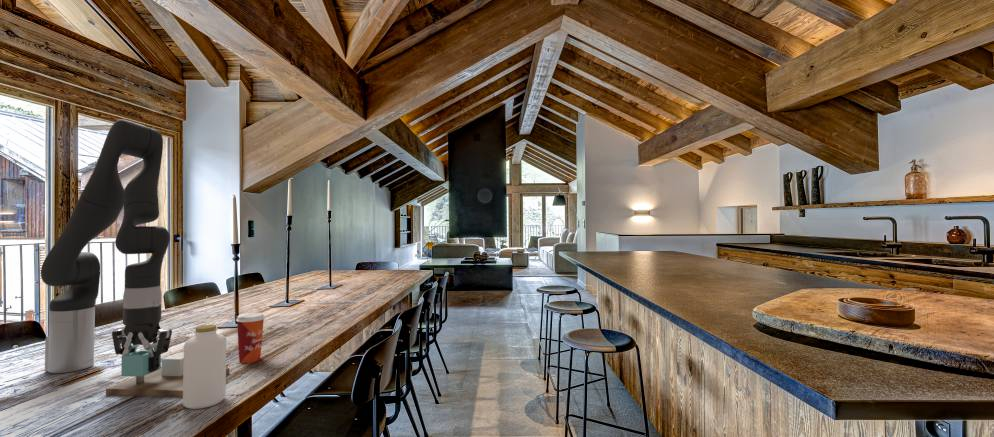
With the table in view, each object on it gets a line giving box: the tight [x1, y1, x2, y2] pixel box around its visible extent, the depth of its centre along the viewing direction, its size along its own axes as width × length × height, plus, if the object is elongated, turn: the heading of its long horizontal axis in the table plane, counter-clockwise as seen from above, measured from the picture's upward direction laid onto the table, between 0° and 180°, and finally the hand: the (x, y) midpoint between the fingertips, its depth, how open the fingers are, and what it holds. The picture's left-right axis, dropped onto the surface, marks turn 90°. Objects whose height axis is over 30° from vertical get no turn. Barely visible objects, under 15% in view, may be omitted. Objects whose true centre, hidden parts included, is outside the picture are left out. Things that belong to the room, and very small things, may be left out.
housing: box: [161, 352, 184, 376], centre depth 113 cm, size 5×5×4 cm
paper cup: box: [235, 312, 266, 364], centre depth 129 cm, size 8×8×14 cm
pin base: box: [105, 365, 230, 398], centre depth 110 cm, size 20×16×6 cm
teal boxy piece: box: [121, 349, 162, 377], centre depth 106 cm, size 5×5×5 cm
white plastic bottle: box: [182, 324, 227, 410], centre depth 98 cm, size 8×8×18 cm
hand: (141, 370), depth 106 cm, fingers closed on teal boxy piece, 5 cm apart
